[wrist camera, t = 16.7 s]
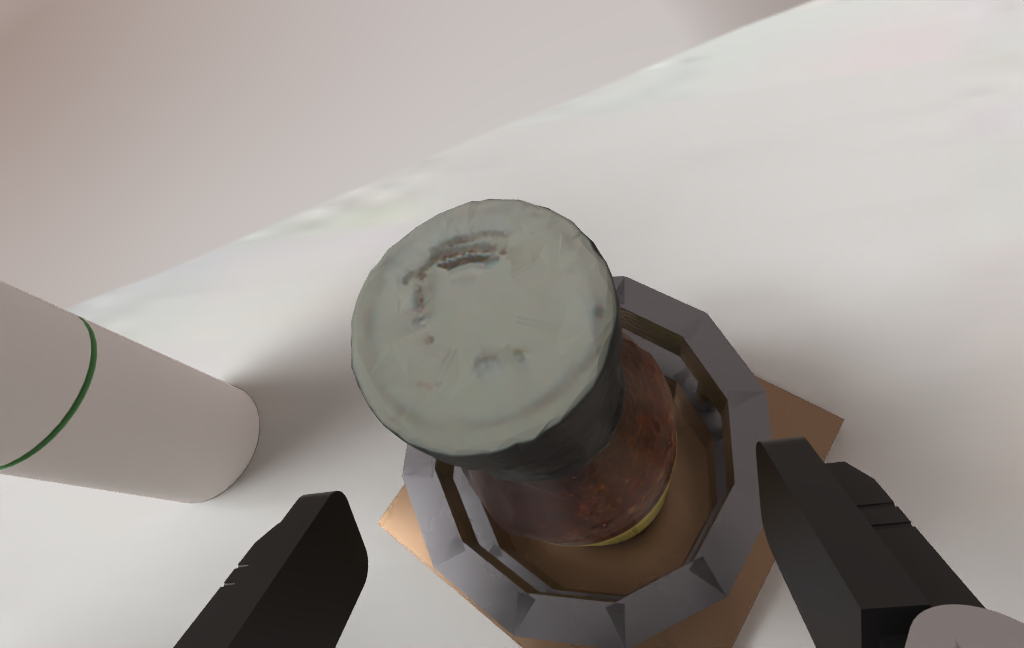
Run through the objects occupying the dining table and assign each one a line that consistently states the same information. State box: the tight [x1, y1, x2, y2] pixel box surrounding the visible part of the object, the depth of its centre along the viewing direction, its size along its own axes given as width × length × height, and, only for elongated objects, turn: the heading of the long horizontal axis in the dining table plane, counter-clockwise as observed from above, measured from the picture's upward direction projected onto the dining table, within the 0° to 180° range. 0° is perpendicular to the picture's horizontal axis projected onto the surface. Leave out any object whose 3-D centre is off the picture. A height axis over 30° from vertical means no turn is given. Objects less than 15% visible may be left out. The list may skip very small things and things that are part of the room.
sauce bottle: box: [351, 199, 677, 546], centre depth 16 cm, size 7×6×20 cm
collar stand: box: [378, 276, 844, 648], centre depth 22 cm, size 16×16×9 cm
